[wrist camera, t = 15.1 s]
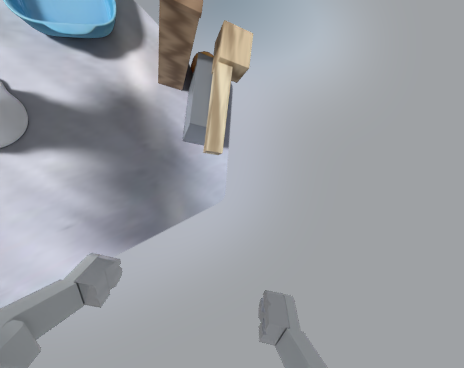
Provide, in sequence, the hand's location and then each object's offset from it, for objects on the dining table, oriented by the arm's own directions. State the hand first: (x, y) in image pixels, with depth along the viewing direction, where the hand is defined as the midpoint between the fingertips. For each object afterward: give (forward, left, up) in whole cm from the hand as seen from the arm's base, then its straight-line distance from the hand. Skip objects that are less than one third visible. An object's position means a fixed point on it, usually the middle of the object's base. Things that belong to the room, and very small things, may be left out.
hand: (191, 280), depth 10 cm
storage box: (+7, +32, -46) cm, 56 cm away
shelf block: (-3, +46, -46) cm, 65 cm away
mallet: (+6, +30, -29) cm, 42 cm away
